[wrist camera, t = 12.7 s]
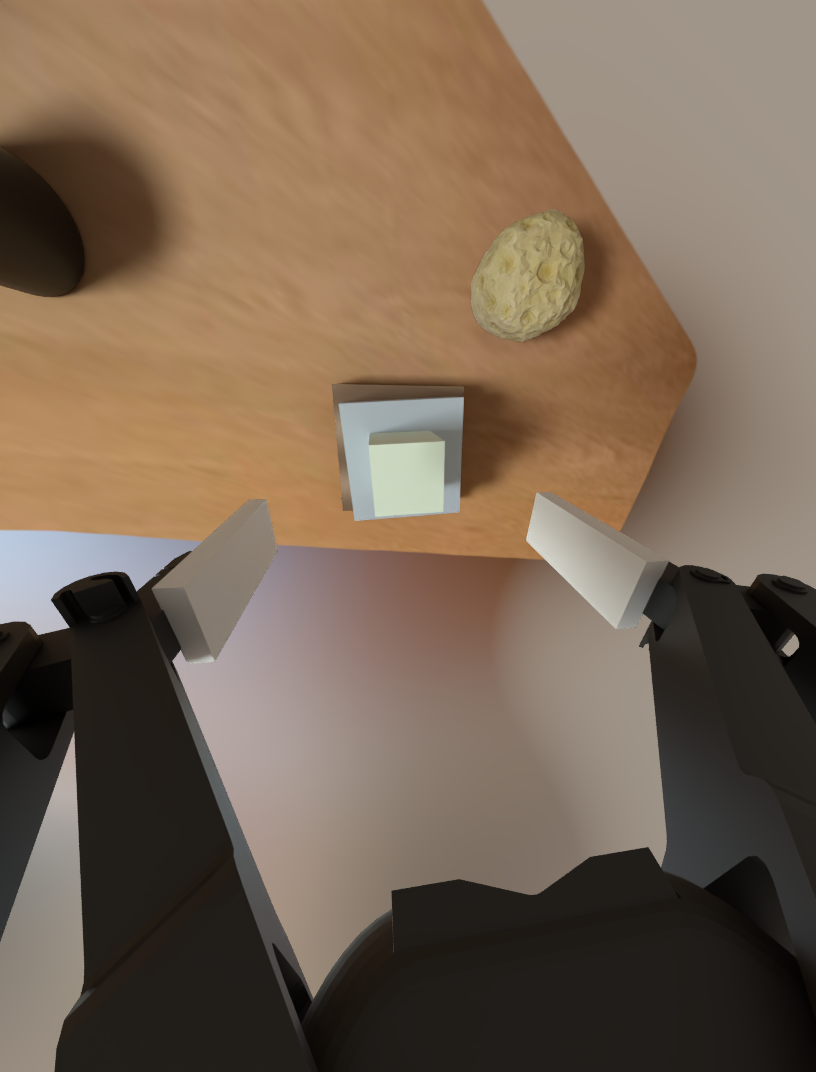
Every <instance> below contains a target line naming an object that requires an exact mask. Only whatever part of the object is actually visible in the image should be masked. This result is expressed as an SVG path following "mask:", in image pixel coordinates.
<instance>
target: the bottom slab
mask: <svg viewBox="0 0 816 1072" xmlns="http://www.w3.org/2000/svg"><path fill="white" fill-rule="evenodd" d="M332 391H333V402H334V414H335V425H336V436H337V447H338V458H339V470H340V481H341V492H342V503H343V511H353V505H352V497H351V490H350V483H349V476H348V468H347V461H346V454H345V447H344V439H343V432H342V425H341V418H340V411H339V403H342V402H356V401H375V400H395V399H414V398H434V397H453V396H454V397H463V395H464V387H458V386H408V385H359V384H332Z"/></svg>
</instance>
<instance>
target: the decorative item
mask: <svg viewBox="0 0 816 1072" xmlns="http://www.w3.org/2000/svg"><path fill="white" fill-rule="evenodd" d="M584 270H585V265H584V247H583V238H582V236H581V234H580V232H579V230H578V228H577V226H576V225H575V223H574V222H573V220H572V219H571V218H570V217H568V216H566V215H565V214H564V213H562V212H560V211H559V210H558V209H557V210H554V209H551V210H549V211H545V212H543V213H538V214H535V215H531V216H530V217H526V218H525V219H522V220H519V221H516V222H514V224H512V225H510V226H509V227H508V228H506V229H504V230H503V231H502V232H501V233H500V234H499V236H498V237H497V238H496V239H495V240H494V241H493V244H492V246H491V247H490V248H489V250H488V251H487V252H486V253H485V255H484V257H483V259H482V261H481V263H480V265H479V267H478V269H477V271H476V273H475V275H474V277H473V280H472V283H471V293H472V294H471V306H472V310H473V313H474V316H475V318H476V320H477V322H478V324H479V325H480V326H481V327H482V328H483V329H485V330H486V331H488V332H489V333H491V334H493V335H495V336H497V337H500V338H503V339H507V340H514V341H522V342H524V341H526V340H529V339H532V338H535V337H538V336H540V334H542V333H544V332H547V331H549V330H551V329H552V328H554V327H556V326H557V325H558V324H559V323H560V322H561V321H562V320H566V318H565V317H566V316H567V315H568V314H570V313H571V312H573V310H574V308H575V307H576V305H577V302H578V299H579V296H580V291H581V284H582V279H583V276H584Z"/></svg>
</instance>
